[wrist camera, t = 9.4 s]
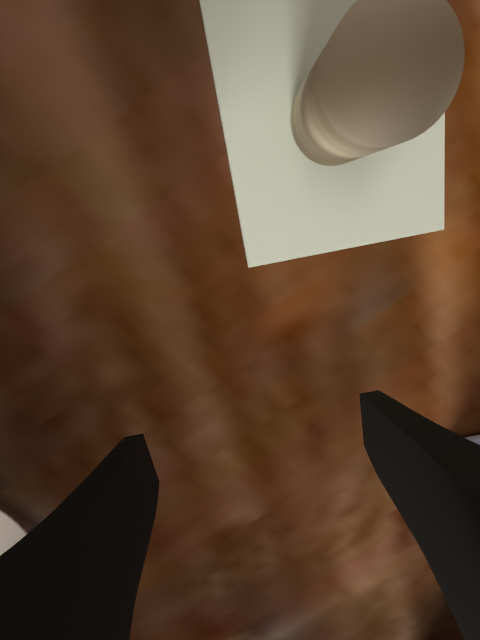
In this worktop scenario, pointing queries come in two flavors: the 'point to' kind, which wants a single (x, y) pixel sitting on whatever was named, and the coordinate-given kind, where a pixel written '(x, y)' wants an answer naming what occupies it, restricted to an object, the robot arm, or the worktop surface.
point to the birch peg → (379, 79)
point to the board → (283, 153)
